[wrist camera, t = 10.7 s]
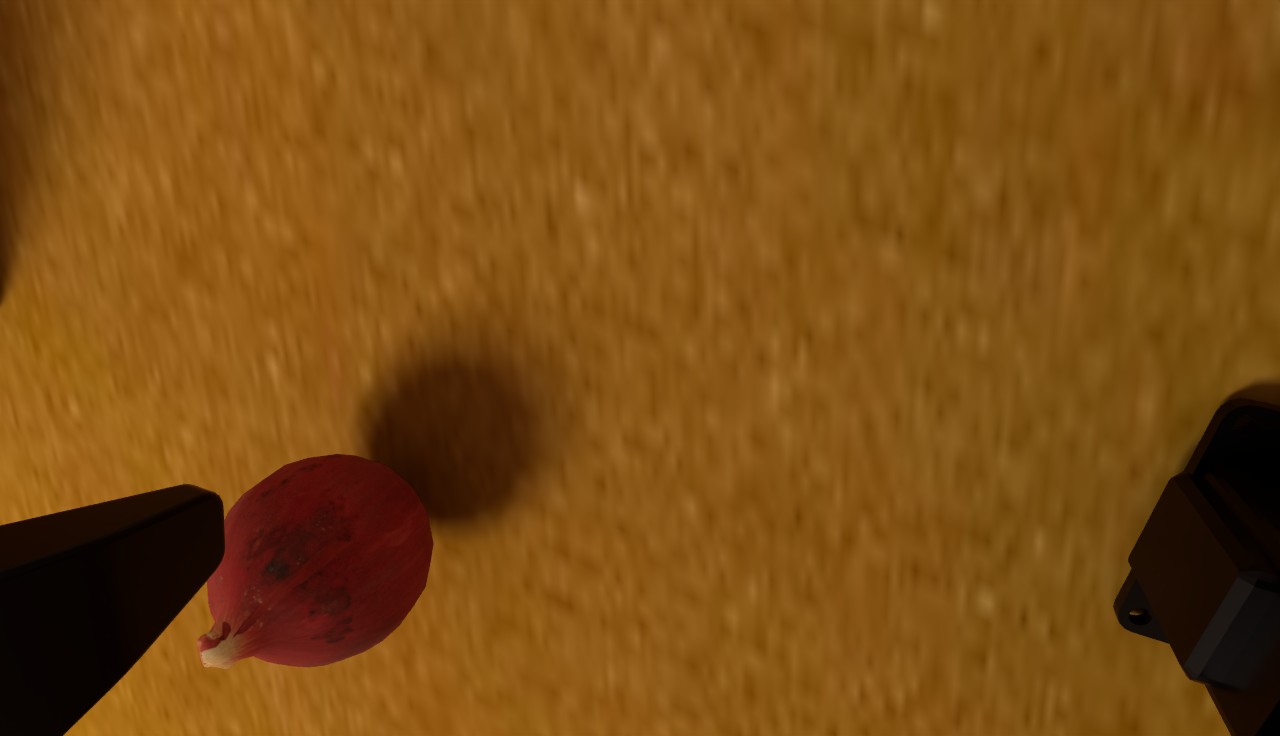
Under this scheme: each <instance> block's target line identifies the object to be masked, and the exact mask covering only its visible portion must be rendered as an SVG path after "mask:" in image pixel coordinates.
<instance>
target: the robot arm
mask: <svg viewBox="0 0 1280 736" xmlns="http://www.w3.org/2000/svg"><path fill="white" fill-rule="evenodd" d="M1245 415H1250V416H1253V420H1252V422H1251V423H1250V424H1249V425H1248V426H1247V427H1245V428H1242V429H1234V428H1233V426H1234V422H1235V421H1236V420H1237V419H1238V418H1240V417H1242V416H1245ZM224 553H225V529H224V510H223V502H222V500H221V498H220V496H219V495H217V494H216V493H215V492H212V491H209V490H206V489H203V488H201V487H198V486H195V485H190V484H183V485H178V486H174V487H169V488H165V489H160V490H156V491H151V492H147V493H143V494H138V495H134V496H129V497H125V498H120V499H116V500H111V501H107V502H103V503H98V504H94V505H89V506H85V507H80V508H76V509H72V510H67V511H63V512H58V513H54V514H49V515H45V516H41V517H36V518H32V519H27V520H23V521H18V522H14V523H10V524H5V525H1V526H0V736H63V735H64V734H65V733H66V732H67V731H68V730H69V729H70V728H71V727H72V726H73V725H74V724H75V723H76V722H78V721H79V720H80V719H81V718H82V717H83V716H84V715H85V714H86V713H87V712H88V711H89V710H90V709H91V708H92V707H93V706H94V705H95V704H96V703H97V702H98V701H99V700H100V699H101V698H102V697H103V696H104V695H105V694H106V693H107V692H108V691H109V690H110V689H111V688H112V687H113V686H114V685H115V684H116V683H117V682H118V681H119V680H120V679H121V678H122V677H123V676H124V675H125V674H126V673H127V672H128V671H129V670H130V669H131V668H132V666H133V665H134V664H135V663H136V662H137V661H138V660H139V659H140V658H141V657H142V655H143V654H144V653H145V652H146V651H147V650H148V649H149V647H150V646H151V645H152V644H153V643H154V642H155V640H156V639H157V638H158V637H159V636H160V635H161V633H162V632H163V631H164V630H165V629H166V628H167V627H168V625H169V624H170V623H171V622H172V621H173V620H174V618H175V617H176V616H177V615H178V614H179V613H180V611H181V610H182V609H183V608H184V607H185V606H186V604H187V603H188V602H189V601H190V600H191V599H192V598H193V596H194V595H195V594H196V593H197V592H198V591H199V589H200V588H201V587H202V586H203V585H204V584H205V582H206V581H207V580H208V579H209V578H210V577H211V576H212V574H213V573H214V572H215V571H216V570H217V568H218V567H219V565H220V563H221V562H222V559H223V557H224ZM1128 562H1129V564H1130V566H1131V568H1132V569H1131V571H1130V573H1129V575H1128V577H1127V579H1126V581H1125V582H1124V584H1123V586H1122V588H1121V590H1120V592H1119V594H1118V595H1117V597H1116V599H1115V602H1114V606H1113V608H1114V611H1115V614H1116V616H1117V619H1118V621H1119V623H1120V624H1121V625H1122V626H1123V627H1124V628H1125V629H1127V630H1129V631H1131V632H1133V633H1137V634H1140V635H1143V636H1146V637H1149V638H1153V639H1156V640H1159V641H1162V642H1165V643H1169V644H1170V646H1171V648H1172V650H1173V652H1174V654H1175V656H1176V658H1177V660H1178V662H1179V664H1180V666H1181V667H1182V669H1183V671H1184V672H1185V674H1186V676H1187V677H1188V678H1189V679H1190V680H1192V681H1196V682H1199V683H1202V684H1205V686H1206V688H1207V690H1208V692H1209V694H1210V696H1211V698H1212V700H1213V702H1214V703H1215V705H1216V707H1217V709H1218V711H1219V713H1220V715H1221V717H1222V719H1223V721H1224V723H1225V724H1226V726H1227V728H1228V730H1229V732H1230V734H1231V736H1280V406H1276V405H1272V404H1268V403H1264V402H1260V401H1256V400H1252V399H1243V398H1239V399H1235V400H1230V401H1228V402H1227V403H1225V404H1223V405H1221V406H1220V408H1219V409H1218V410H1217V411H1216V412H1215V414H1214V416H1213V418H1212V420H1211V422H1210V424H1209V425H1208V427H1207V429H1206V431H1205V433H1204V435H1203V437H1202V439H1201V440H1200V442H1199V444H1198V446H1197V448H1196V450H1195V452H1194V453H1193V455H1192V457H1191V459H1190V461H1189V463H1188V465H1187V467H1186V468H1185V470H1184V472H1182V473H1180V474H1178V475H1176V476H1174V477H1172V478H1171V479H1170V480H1169V482H1168V484H1167V486H1166V488H1165V489H1164V491H1163V493H1162V495H1161V497H1160V499H1159V501H1158V503H1157V505H1156V506H1155V508H1154V510H1153V512H1152V514H1151V516H1150V518H1149V520H1148V522H1147V523H1146V525H1145V527H1144V529H1143V531H1142V533H1141V535H1140V537H1139V539H1138V540H1137V542H1136V544H1135V546H1134V548H1133V550H1132V552H1131V554H1130V556H1129V558H1128ZM1137 608H1142V609H1146V611H1145V612H1144V613H1143V614H1140V615H1131V614H1129V613H1130V612H1131V611H1132V610H1134V609H1137Z"/></svg>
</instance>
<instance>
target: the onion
mask: <svg viewBox="0 0 1280 736" xmlns="http://www.w3.org/2000/svg"><path fill="white" fill-rule="evenodd" d="M224 529H225V553H224V557H223V559H222V562H221V563H220V565H219V567H218V568H217V570H216V571H215V572H214V573H213V574H212V576H211V577H210V578H209V579H208V580H207V587H208V603H209V607H210V611H211V614H212V616H213V618H214V620H215V623H214V625H213V627H212V629H211V630H210V632H209V633H207V634H205V635H202V636H201V637H200V638H199V639H198V640H197V641H196V642H197V646H198V649H199V654H200V659H201V661H202V663H203V665H204V667H219V668H224V669H229V668H230V667H231V666H233V665H234V664H235V663H237V662H238V661H239V660H241V659H244V658H248V657H252V656H254V657H257V658H259V659H261V660H264V661H267V662H271V663H275V664H282V665H288V666H297V667H315V666H323V665H328V664H331V663H334V662H337V661H341V660H344V659H346V658H349V657H352V656H354V655H357V654H359V653H362V652H364V651H366V650H368V649H370V648H371V647H373V646H375V645H376V644H378V643H380V642H381V641H383V640H384V639H385V638H386V637H387V636H388V635H389V634H390V633H392V632H393V631H394V630H395V629H396V628H397V627H398V626H399V625H400V624H401V623H402V621H403V620H404V618H405V617H406V616H407V614H408V613H409V612H410V610H411V609H412V607H413V606H414V604H415V603H416V601H417V600H418V598H419V597H420V595H421V593H422V592H423V590H424V589H425V587H426V582H427V577H428V572H429V567H430V562H431V556H432V549H433V539H432V534H431V529H430V524H429V519H428V515H427V512H426V510H425V507H424V506H423V504H422V502H421V501H420V499H419V498H418V496H417V494H416V493H415V491H414V490H413V488H412V486H410V485H409V484H408V483H407V482H406V481H404V480H403V479H402V478H401V477H399V476H398V475H397V474H396V473H395V472H393V471H392V470H391V469H390V468H388V467H387V466H386V465H384V464H381V463H377V462H374V461H371V460H368V459H365V458H361V457H358V456H353V455H342V454H334V455H327V456H319V457H312V458H307V459H303V460H300V461H297V462H293V463H290V464H287V465H284V466H283V467H282V468H280V469H279V470H277V471H276V472H274V473H273V474H271V475H270V476H268V477H267V478H265V479H264V480H262V481H261V482H260V483H258V484H257V485H256V486H254V487H253V488H251V489H250V490H249V491H247V492H246V493H244V494H243V495H242V496H241V497H240V499H239V500H238V501H237V502H236V503H235V505H234V506H233V507H232V508H231V509H230V510H229V512H228V514H227V516H226V518H225V520H224Z"/></svg>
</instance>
